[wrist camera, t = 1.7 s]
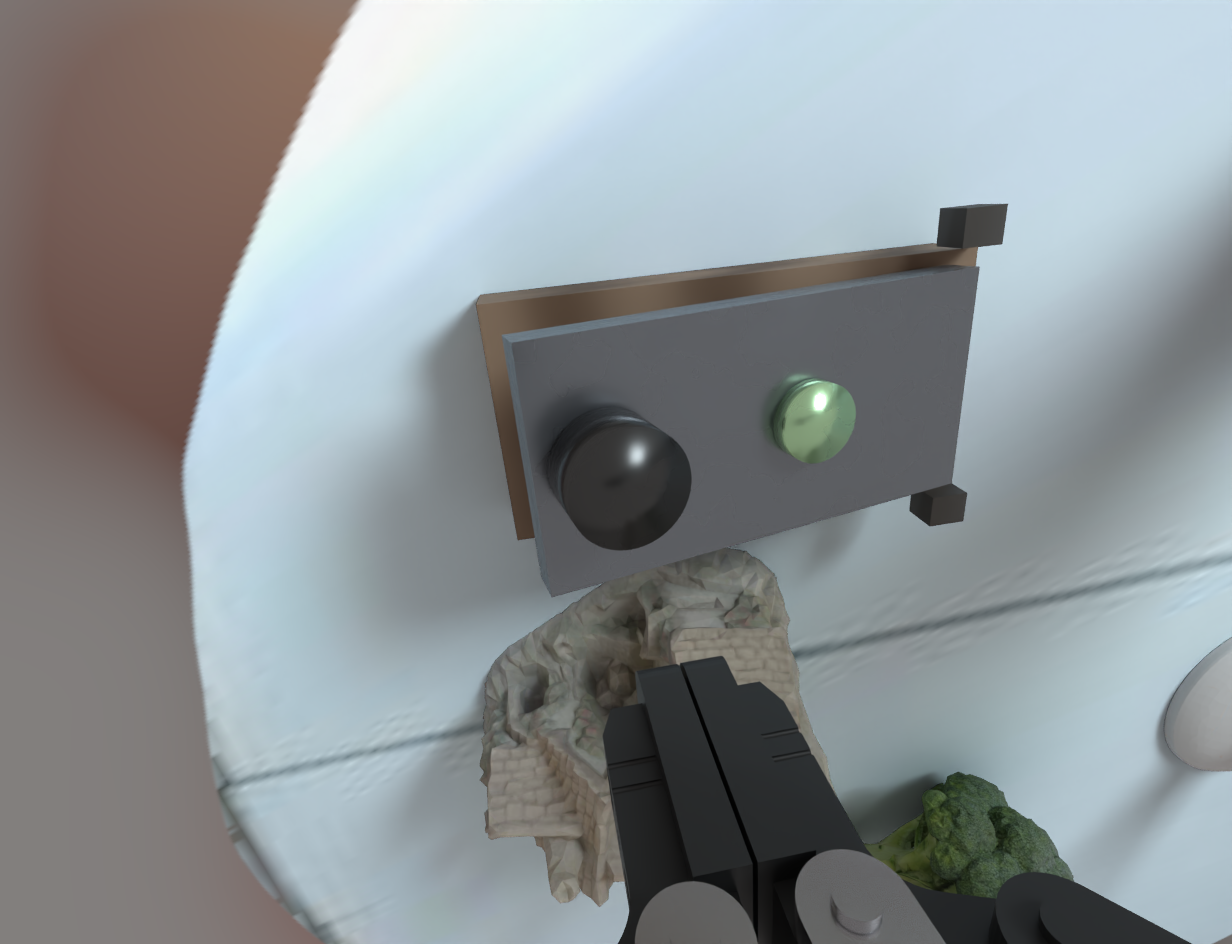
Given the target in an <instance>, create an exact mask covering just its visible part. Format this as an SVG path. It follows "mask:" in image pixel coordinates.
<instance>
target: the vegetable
mask: <svg viewBox="0 0 1232 944" xmlns="http://www.w3.org/2000/svg"><path fill="white" fill-rule="evenodd" d="M922 803H923V807H924V812H923V813H922V814H921V815H920V816H918V817H917V818H915V819H913V820H912V821H910V822H908V823H907V824H905V825H903V826H901V827H900V828H898V829H897V830H896V831H894V832H893V833H892V834H891V835H889V836H888V837H886V838H885V839H883V840H882V841H880V842H879V843H877V844H864V845H865V847H866V848H867V850H868V851H869V852H870V853H871V854H872V856H873V857H874V858H876V859H877V860H879V861H881V862H882V863H884V864H885V865H887V866H888V867H889V868H891V869H892V870H893V871H894V872H895V873H896V874H897V875H898V876H899V877H900V878H902V879H903V880H905V881H908V882H910V883H912V884H914V885H917V886H920V887H923V888H926V889H930V890H935V891H940V892H948V893H955V894H963V895H971V896H979V897H987V898H995V899H996V898H997V894H998V891H999V890H1000V888H1001V886H1002V885H1003V884H1004V883H1005V882H1006V881H1007V880H1008V879H1010V878H1011V877H1013V876H1015V875H1018V874H1022V873H1028V872H1041V873H1048V874H1053V875H1057V876H1060V877H1063V878H1066V879H1069V880H1071V881H1073V882H1074V880H1073V875H1072V873H1071V871H1070V869H1069V867H1068V865H1067V864H1066V863H1065V862H1064V861H1063V860H1062V859H1061V858H1060V857H1059V856H1058V851H1057V849H1056V847H1055V845H1054V843H1053V842H1052V840H1051V839H1050V837H1049V836H1048V834H1047V832H1046V831H1045V830H1043V829H1041V828H1040V827H1038V826H1037V825H1036V824H1035V823H1034V822H1033V821H1032V819H1027V818H1025V817H1024V816H1022V815H1020V814H1019V813H1018V812H1017V811H1016V810H1014V809H1012V808H1010V807H1009V806H1008V804H1007V802H1006V800H1005V797H1004V793H1003V792H1002V791H999V790H998V788H997V786H996V785H994V784H992V783H990V782H988V781H986V780H984V779H982V778H979V777H977V776H974V775H971V774H969V775H964V774H962V773H960V772H957V773H954V774H952V775H950V776H948V777H947V780H946V782H945V784H943V783H941V784H939V785H936V786H935V787H934V788H932V789H931V790H926V791H925V793H924V794H923V796H922ZM913 847H914V848H913Z"/></svg>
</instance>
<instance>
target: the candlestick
mask: <svg viewBox="0 0 1232 944" xmlns="http://www.w3.org/2000/svg"><path fill="white" fill-rule="evenodd" d="M1164 733H1165V739H1166V742H1167V744H1168V746H1169V748H1170V750H1171V751H1172V752H1173V753H1174V754H1175V755H1176V756H1177V757H1179V758H1180V759H1181V760H1182V761H1184V762H1185V763H1186V764H1188V765H1190V766H1192V767H1194V768H1197V769H1201V770H1207V771H1232V637H1231V638H1230V639H1228V640H1227V641H1225V642H1224V643H1222V644H1221V645H1220V646H1218V647H1217V648H1216V649H1214V650H1213V651H1212V652H1211V653H1209V654H1208V655H1207V656H1206V657H1205V658H1204V659H1203V660H1202V661H1201V662H1200V663H1199V664H1198V665H1197V666H1196V667H1195V668H1194V669H1193V670H1192V671H1191V672H1190V673H1189V674H1188V676H1187V677H1186V678H1185V680H1184V681H1183V682H1182V684H1181V685H1180V686H1179V688H1178V690H1177V691H1176V693H1175V695H1174V697H1173V698H1172V700H1171V703H1170V705H1169V708H1168V711H1167V714H1166V718H1165V724H1164Z"/></svg>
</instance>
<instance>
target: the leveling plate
mask: <svg viewBox="0 0 1232 944" xmlns="http://www.w3.org/2000/svg"><path fill="white" fill-rule="evenodd" d="M978 275H979V267H977V266H962V265H948V264H947V265H941V266H935V267H928V268H922V269H916V270H909V271H903V272H897V273H891V274H884V275H878V276H872V277H865V278H859V279H853V280H846V281H840V282H834V283H827V284H821V285H815V286H808V287H802V288H796V289H789V290H783V291H777V292H770V293H764V294H758V295H751V296H745V297H739V298H732V299H726V300H720V301H713V302H707V303H701V304H694V305H688V306H682V307H676V308H669V309H663V310H657V311H650V312H644V313H638V314H631V315H625V316H619V317H612V318H606V319H600V320H593V321H587V322H581V323H574V324H568V325H562V326H555V327H549V328H543V329H536V330H530V331H524V332H517V333H511V334H505V335H502V341H503V347H504V353H505V359H506V365H507V371H508V377H509V383H510V389H511V395H512V401H513V407H514V414H515V420H516V426H517V432H518V438H519V444H520V450H521V456H522V462H523V468H524V474H525V480H526V487H527V493H528V499H529V505H530V511H531V517H532V523H533V529H534V535H535V541H536V547H537V553H538V559H539V566H540V572H541V577H542V579H543V581H544V583H545V585H546V587H547V589H548V591H549V593H550V595H551V597H554V596H558V595H561V594H565V593H568V592H572V591H575V590H579V589H582V588H586V587H589V586H593V585H596V584H600V583H603V582H607V581H610V580H614V579H618V578H621V577H625V576H628V575H632V574H635V573H639V572H642V571H646V570H649V569H653V568H656V567H660V566H663V565H667V564H670V563H674V562H677V561H681V560H684V559H688V558H691V557H695V556H698V555H702V554H705V553H709V552H712V551H716V550H719V549H723V548H726V547H730V546H733V545H737V544H740V543H744V542H747V541H751V540H754V539H758V538H761V537H765V536H768V535H772V534H775V533H779V532H782V531H786V530H789V529H793V528H796V527H800V526H803V525H807V524H810V523H814V522H817V521H821V520H824V519H828V518H831V517H835V516H838V515H842V514H845V513H849V512H852V511H856V510H859V509H863V508H867V507H870V506H874V505H877V504H881V503H884V502H888V501H891V500H895V499H898V498H902V497H905V496H909V495H912V494H916V493H919V492H923V491H926V490H930V489H933V488H937V487H940V486H944V485H947V484H951V483H952V476H953V468H954V460H955V453H956V445H957V437H958V429H959V422H960V414H961V406H962V399H963V391H964V383H965V375H966V368H967V360H968V352H969V344H970V337H971V329H972V321H973V313H974V306H975V298H976V290H977V282H978Z"/></svg>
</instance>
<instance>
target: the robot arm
mask: <svg viewBox="0 0 1232 944" xmlns="http://www.w3.org/2000/svg"><path fill="white" fill-rule="evenodd" d="M635 678H636V689H637V699H638V704H635V705H630V706H624V707H619V708H613V709H611V710H610V713H609V716H608V720H607V723H606V726H605V729H604V732H603V744H604V751H605V759H606V766H607V774H608V781H609V789H610V796H611V804H612V810H613V816H614V821H615V827H616V833H617V839H618V845H619V851H620V857H621V863H622V869H623V875H624V881H625V887H626V893H627V899H628V905H629V916H628V921H627V924H626V927H625V930H624V933H623V935H622V937H621V939H620V941H619V942H618V944H1191V943H1189V942H1188V941H1186V940H1184V939H1182V938H1180V937H1178V936H1176V935H1174V934H1172V933H1171V932H1169V931H1167V930H1165V929H1163V928H1161V927H1159V926H1157V925H1155V924H1154V923H1152V922H1150V921H1148V920H1146V919H1144V918H1142V917H1140V916H1138V915H1137V914H1135V913H1133V912H1131V911H1129V910H1127V909H1125V908H1123V907H1121V906H1120V905H1118V904H1116V903H1114V902H1112V901H1110V900H1108V899H1106V898H1104V897H1103V896H1101V895H1099V894H1097V893H1095V892H1093V891H1091V890H1089V889H1087V888H1086V887H1084V886H1082V885H1080V884H1078V883H1075V882H1073V881H1071V880H1069V879H1066V878H1063V877H1060V876H1057V875H1053V874H1048V873H1041V872H1028V873H1022V874H1018V875H1015V876H1013V877H1011V878H1010V879H1008V880H1007V881H1006V882H1005V883H1004V884H1003V885H1002V886H1001V888H1000V890H999V891H998V894H997V898H996V899H995V898H987V897H979V896H971V895H963V894H955V893H948V892H940V891H935V890H930V889H926V888H923V887H920V886H917V885H914V884H912V883H910V882H908V881H905V880H903V879H902V878H900V877H899V876H898V875H897V874H896V873H895V872H894V871H893V870H892V869H891V868H889V867H888V866H887V865H885V864H884V863H882V862H881V861H879V860H877V859H876V858H874V857H873V856H872V854H871V853H870V852H869V851H868V850H867V848H866V847H865V845H864V844H863V842H862V841H861V839H860V837H859V836H858V834H857V832H856V830H855V828H854V827H853V825H852V823H851V821H850V819H849V818H848V816H847V814H846V812H845V810H844V809H843V807H842V805H841V803H840V801H839V800H838V798H837V796H836V794H835V792H834V791H833V789H832V787H831V785H830V783H829V782H828V780H827V778H826V776H825V774H824V773H823V771H822V769H821V767H820V765H819V764H818V762H817V760H816V758H815V756H814V755H812V754H811V750H810V747H809V746H808V744H807V742H806V740H805V738H804V737H803V735H802V733H800V732H799V729H798V726H797V724H796V722H795V720H794V719H793V717H792V715H791V713H790V711H789V710H788V708H787V706H786V704H785V702H784V701H783V700H782V699H781V698H779V697H778V696H777V695H776V694H775V693H773V692H772V691H771V690H770V689H768V688H767V687H766V686H765V685H764V684H762V683H761V682H760V681H759V682H753V683H748V684H742V685H737V683H736V680H735V678H734V676H733V674H732V672H731V670H730V668H729V666H728V664H727V662H726V660H725V658H724V657H723V656H716V657H711V658H705V659H699V660H694V661H688V662H683V663H680V665H678V664H673V665H667V666H661V667H656V668H650V669H645V670H639V671H636V672H635Z"/></svg>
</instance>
